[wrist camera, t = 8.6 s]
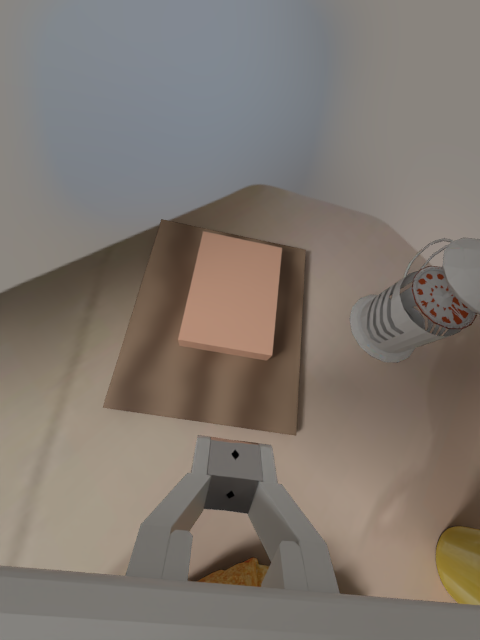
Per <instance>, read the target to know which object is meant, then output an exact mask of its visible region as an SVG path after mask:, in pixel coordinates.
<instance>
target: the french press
mask: <svg viewBox="0 0 480 640" xmlns="http://www.w3.org/2000/svg"><path fill="white" fill-rule="evenodd" d="M441 241H447V242H451V243H450V244H449V245H446V246H445V247H443V248H441V249H440V250H439V251H437V252H435V253H434V254H432V256H431V257H430V258H429V259H428V260H427V262H426V263H425V264H424V265H423V266H422V268H421V269H420V270H419V271H416V272H413V273H410V274H408V275H407V273H408V270H409V268H410V266H411V264H412V263H413V261H414V260H415V258H416V257H417V256H418V255H419V254H420V253H421V252H423V251H424V250H425V249H426V248H427V247H429V246H430V245H432V244H435V243H438V242H441ZM445 248H446V250H445V251H444V257H443V267H437V266H428V267H426V268H424V267H425V265H426V264H427V263H428V262H429V261H430V260H431V259H432V258H433V257H434V256H435V255H436V254H438V253H439V252H441V251H442V250H444V249H445ZM412 281H413V284H412V287H411V288H409V289H407V290H406V291H404V292H403V293H401V294H400V289H401V288H403V287H404V286H406V285H407V284H409V283H410V282H412ZM392 294H393V295H392ZM390 295H392V299H390V298H389V296H390ZM415 305H416V306H417V307H419V309H420V310H421V312H422V313H423V314H424V315H425V316H426V317H427V318H428V326H429V327H428V329H427V331H425V330H424V329H425V320H424V318H423V317H422V315H421V314H420V313H419V311H417V310H416V309H415V308H413V306H415ZM477 313H478V314H480V239H472V238H462V239H459V240H456V241H452V240H450V239H445V238H444V239H439V240H435V241H433V242H432V243H430V244H428V245H427V246H426V247H424V248H423V249H422V250H420V251H419V252H418V253H417V254H416V256H415V257H414V258H413V259H412V261H411V262H410V263H409V265H408V267H407V269H406V271H405V274H404V277H403V278H402V279H401V280H399V281H398V282H397V283H395V284H394V285H392V286H391V287H389V288H388V289H386V290H385V291H384V292H382V293H381V294H379V295H368V296H366V297H363V298H360V299H359V300H358V301H357V303H356V304H355V305H354V306H353V307H352V311H351V315H350V324H351V330H352V333H353V335H354V337H355V339H356V341H357V342H358V344H359V346H360V347H361V348H362V349H364V350H365V351H366V352H367V353H368V354H369V355H370V356H372V357H374V358H376V359H379V360H381V361H383V362H400V361H402V360H404V359H406V358H408V357H409V356H410V355H411V353H412V352H413V350H414V349H415V348H416V347H419V346H422V345H425V344H428V343H431V342H434V341H437V340H440V339H442V338H445V337H448V336H451V335H454V334H456V333H458V332H460V331H461V329H463V328H466V327H468V326H470V325H471V324H472V323H473V321H474V319H475V318H476V316H477ZM433 323H435V324H437V325H436V327H435V329H434V331H433V332H432V334H431V333H429V332H430V330H431V328H432V326H433ZM439 326H442V329H441V330H440V332H439V333H438V335H437V336H436V335H435V334H436V332H437V330H438V328H439ZM446 328H447V329H449V330H448V331H447V332H446V333H445V334H444V335H443V336H440V335H441V334H442V333H443V332H444V331H445V329H446Z"/></svg>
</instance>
